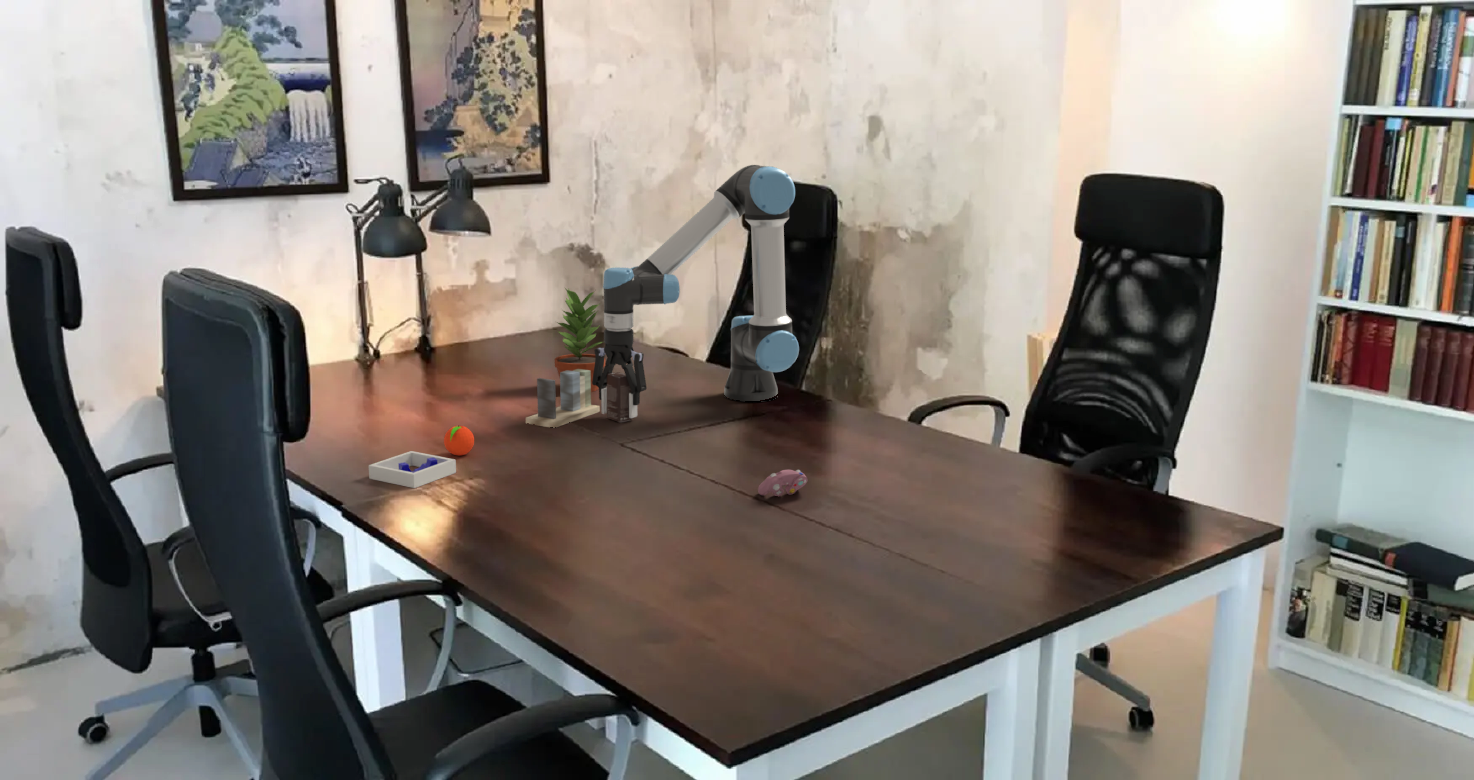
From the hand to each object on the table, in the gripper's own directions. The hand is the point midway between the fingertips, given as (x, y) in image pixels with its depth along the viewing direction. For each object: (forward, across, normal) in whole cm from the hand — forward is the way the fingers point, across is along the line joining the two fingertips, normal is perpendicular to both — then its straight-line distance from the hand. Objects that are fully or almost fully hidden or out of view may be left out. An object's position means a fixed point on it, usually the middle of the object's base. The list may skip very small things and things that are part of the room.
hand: (619, 414), depth 312 cm
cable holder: (+2, -9, -64) cm, 65 cm away
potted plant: (+1, -29, +23) cm, 37 cm away
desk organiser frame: (+1, -11, -64) cm, 65 cm away
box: (+1, 0, 0) cm, 1 cm away
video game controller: (+2, +64, -34) cm, 73 cm away
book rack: (+1, -14, -6) cm, 15 cm away
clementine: (+2, -13, -47) cm, 49 cm away
